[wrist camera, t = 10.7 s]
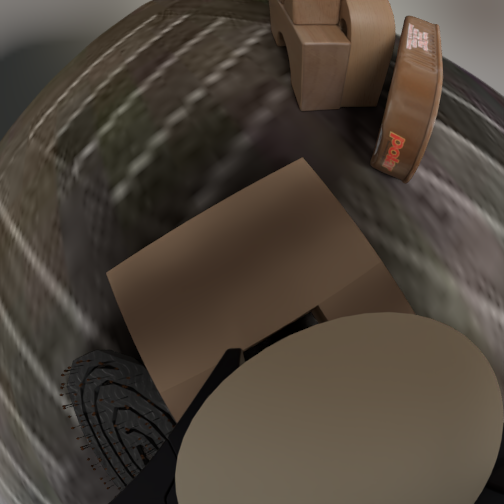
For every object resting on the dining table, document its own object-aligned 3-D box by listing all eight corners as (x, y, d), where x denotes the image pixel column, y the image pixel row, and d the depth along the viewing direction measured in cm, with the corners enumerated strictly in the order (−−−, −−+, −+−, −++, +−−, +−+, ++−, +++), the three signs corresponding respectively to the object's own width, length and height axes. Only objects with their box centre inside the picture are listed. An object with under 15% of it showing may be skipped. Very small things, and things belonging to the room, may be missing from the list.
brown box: (448, 422, 12) (474, 432, 9) (280, 524, 11) (279, 551, 8) (300, 185, 17) (302, 157, 14) (132, 284, 16) (106, 272, 14)
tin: (395, 207, 16) (455, 121, 8) (351, 187, 17) (388, 88, 9) (419, 83, 20) (444, 16, 12) (389, 70, 20) (408, 0, 12)
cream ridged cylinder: (322, 409, 13) (430, 572, 1) (252, 396, 13) (152, 557, 2) (339, 342, 14) (529, 327, 2) (269, 328, 14) (218, 269, 3)
